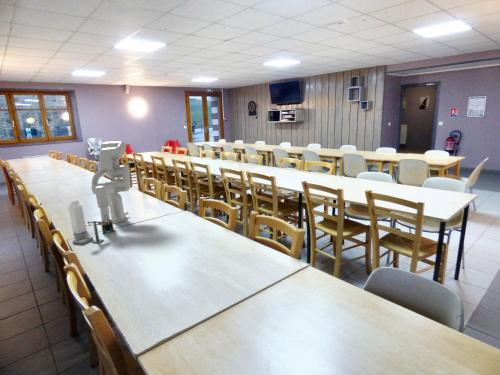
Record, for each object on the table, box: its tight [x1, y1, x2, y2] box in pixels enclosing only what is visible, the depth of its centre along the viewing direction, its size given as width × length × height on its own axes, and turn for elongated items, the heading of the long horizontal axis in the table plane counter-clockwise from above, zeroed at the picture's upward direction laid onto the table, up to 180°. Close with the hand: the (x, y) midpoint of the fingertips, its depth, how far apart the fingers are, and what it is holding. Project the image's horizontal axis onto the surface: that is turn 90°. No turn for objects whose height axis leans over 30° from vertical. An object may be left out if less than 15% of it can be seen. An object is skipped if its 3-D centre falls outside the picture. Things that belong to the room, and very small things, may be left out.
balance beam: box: [84, 220, 104, 227], centre depth 189 cm, size 4×13×2 cm, turn 161°
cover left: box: [100, 218, 115, 234], centre depth 209 cm, size 7×7×7 cm
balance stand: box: [91, 223, 104, 244], centre depth 190 cm, size 5×4×12 cm
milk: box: [67, 200, 88, 235], centre depth 209 cm, size 6×6×22 cm
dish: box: [72, 236, 94, 246], centre depth 193 cm, size 8×8×2 cm
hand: (108, 228), depth 210 cm, fingers closed on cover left, 6 cm apart
